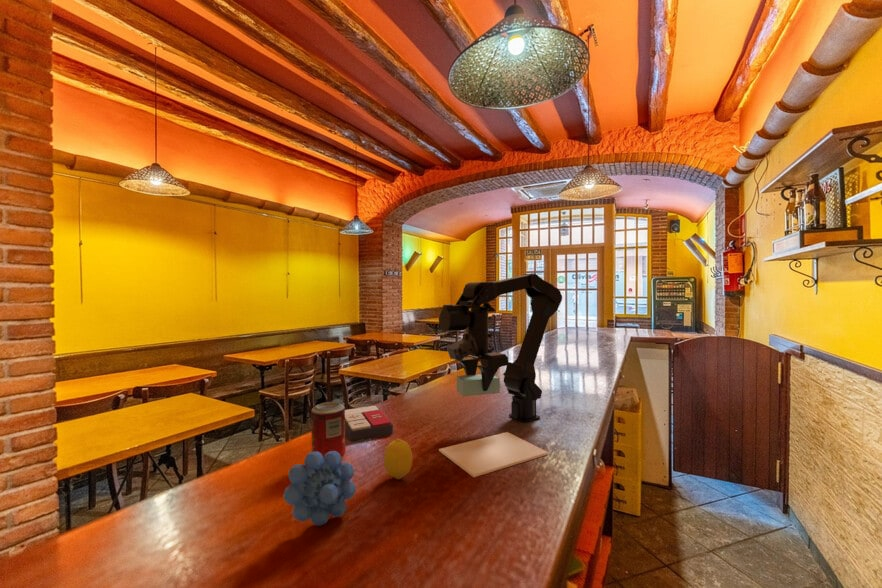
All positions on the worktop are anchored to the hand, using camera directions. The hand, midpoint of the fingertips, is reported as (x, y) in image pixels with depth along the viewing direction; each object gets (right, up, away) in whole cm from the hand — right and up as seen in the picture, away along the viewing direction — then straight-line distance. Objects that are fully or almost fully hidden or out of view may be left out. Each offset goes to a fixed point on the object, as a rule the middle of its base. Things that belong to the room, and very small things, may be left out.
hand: (478, 388), depth 101 cm
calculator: (-30, -12, +1) cm, 33 cm away
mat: (+2, -11, -15) cm, 19 cm away
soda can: (-34, -12, -18) cm, 40 cm away
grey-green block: (0, -1, 0) cm, 1 cm away
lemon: (-18, -12, -26) cm, 34 cm away
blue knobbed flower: (-28, -12, -41) cm, 51 cm away
